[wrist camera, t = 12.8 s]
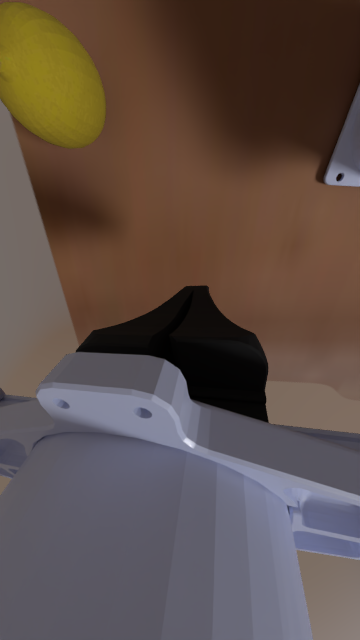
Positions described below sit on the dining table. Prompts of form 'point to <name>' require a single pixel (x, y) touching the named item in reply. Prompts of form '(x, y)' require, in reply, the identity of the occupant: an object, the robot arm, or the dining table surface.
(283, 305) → the dining table surface
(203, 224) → the dining table surface
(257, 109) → the dining table surface
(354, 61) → the dining table surface
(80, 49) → the lemon
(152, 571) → the robot arm
